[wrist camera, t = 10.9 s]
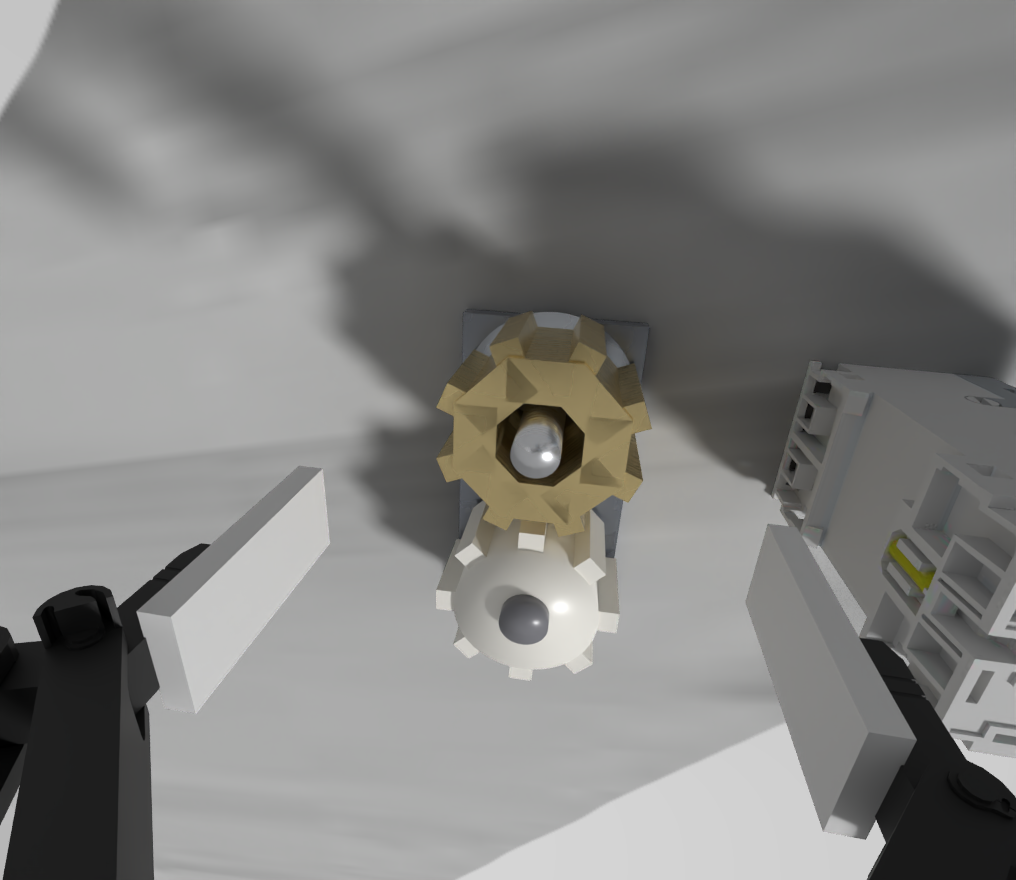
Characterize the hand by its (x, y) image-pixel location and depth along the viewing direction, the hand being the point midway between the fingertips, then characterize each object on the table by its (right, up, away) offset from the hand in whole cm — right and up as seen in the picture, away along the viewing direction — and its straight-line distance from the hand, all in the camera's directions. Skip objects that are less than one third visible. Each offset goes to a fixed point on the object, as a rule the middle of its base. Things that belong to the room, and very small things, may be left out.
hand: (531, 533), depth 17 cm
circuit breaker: (+21, +2, +11) cm, 24 cm away
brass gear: (+1, +5, +12) cm, 13 cm away
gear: (+1, -4, +16) cm, 16 cm away
